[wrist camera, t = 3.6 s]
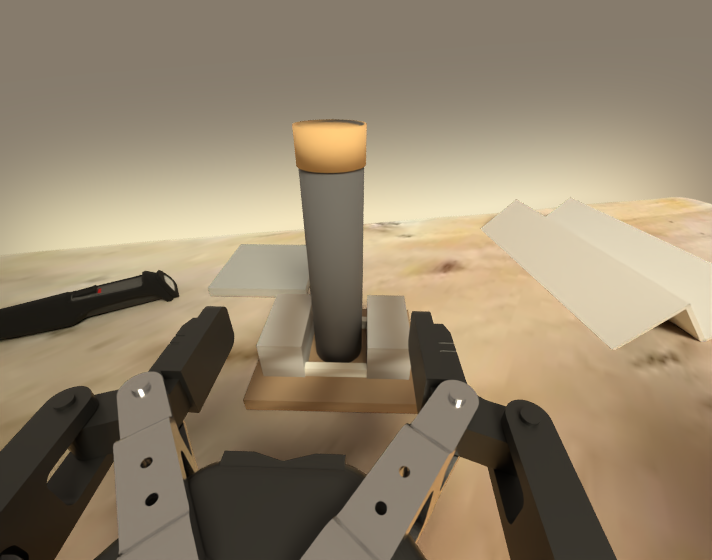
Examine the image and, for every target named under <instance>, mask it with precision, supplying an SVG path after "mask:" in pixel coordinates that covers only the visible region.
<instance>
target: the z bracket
mask: <svg viewBox="0 0 712 560" xmlns="http://www.w3.org/2000/svg"><path fill="white" fill-rule="evenodd" d="M481 230H482V231H483V232H484V233H485V234H486V235H487V236H489V237H490V238H491V239H492V240H493V241H494V242H495V243H496V244H497V245H498V246H499V247H501V248H502V249H503V250H504V251H505V252H506V253H507V254H508V255H509V256H510V257H511V258H513V259H514V260H515V261H516V262H517V263H518V264H519V265H520V266H521V267H522V268H523V269H525V270H526V271H527V272H528V273H529V274H530V275H531V276H532V277H533V278H534V279H535V280H537V281H538V282H539V283H540V284H541V285H542V286H543V287H544V288H545V289H546V290H548V291H549V292H550V293H551V294H552V295H553V296H554V297H555V298H556V299H557V300H558V301H560V302H561V303H562V304H563V305H564V306H565V307H566V308H567V309H568V310H569V311H570V312H572V313H573V314H574V315H575V316H576V317H577V318H578V319H579V320H580V321H581V322H582V323H584V324H585V325H586V326H587V327H588V328H589V329H590V330H591V331H592V332H593V333H594V334H596V335H597V336H598V337H599V338H600V339H601V340H602V341H603V342H604V343H605V344H606V345H608V346H609V347H610V348H611V349H618V348H620V347H622V346H623V345H625V344H627V343H628V342H630V341H632V340H634V339H635V338H637V337H639V336H640V335H642V334H644V333H646V332H647V331H649V330H651V329H653V328H654V327H656V326H658V325H659V324H661V323H663V322H665V321H666V320H670V321H671V322H672V323H674V324H675V325H677V326H678V327H680V328H681V329H683V330H684V331H686V332H687V333H689V334H690V335H691V336H693V337H694V338H696V339H697V340H699V341H700V342H706V341H708V340H710V339H712V263H710V262H708V261H706V260H704V259H701V258H699V257H697V256H695V255H693V254H691V253H689V252H686V251H684V250H682V249H680V248H678V247H676V246H674V245H671V244H669V243H667V242H665V241H663V240H661V239H659V238H656V237H654V236H652V235H650V234H648V233H646V232H644V231H641V230H639V229H637V228H635V227H633V226H631V225H629V224H626V223H624V222H622V221H620V220H618V219H616V218H614V217H611V216H609V215H607V214H605V213H603V212H601V211H599V210H596V209H594V208H592V207H590V206H588V205H586V204H584V203H581V202H579V201H577V200H575V199H573V198H571V197H570V198H569V199H567V200H566V201H565V202H564V203H562V204H561V205H560V206H558V207H557V208H556V209H555V210H553V211H552V212H551V213H549V214H548V215H547V216H546V217H545V216H544V215H542V214H540V213H539V212H537V211H535V210H534V209H532V208H530V207H529V206H527V205H525V204H524V203H522V202H520V201H519V200H517V199H516V200H515V201H513V202H512V203H511V204H510V205H509V206H507V208H505V209H504V210H503V211H502V212H500V213H499V214H498V215H497V216H495V217H494V218H493V219H492V220H491V221H489V222H488V223H487V224H486V225H484V226H483V227H482V228H481Z"/></svg>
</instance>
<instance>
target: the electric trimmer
mask: <svg viewBox="0 0 712 560" xmlns="http://www.w3.org/2000/svg"><path fill="white" fill-rule="evenodd" d="M170 294H171V295H170ZM178 296H179V293H178V288H177V284H176V283H175V281H174V280H173V279H172V278H171V277H170V276H168V275H167V274H166V273H164V272H163V271H160V270H158V271H157V272H156V273H154V272H149V271H144V272H142V275H139V276H136V277H132V278H127V279H123V280H119V281H115V282H111V283H107V284H102V285H98V286H96V285H94V286H92V287H89V288H85V289H81V290H78V291H73V292H66V293H62V294H58V295H54V296H51V297H47V298H43V299H39V300H35V301H31V302H27V303H23V304H19V305H15V306H11V307H7V308H3V309H0V340H2V339H7V338H12V337H18V336H23V335H28V334H34V333H39V332H44V331H49V330H54V329H59V328H64V327H69V326H73V325H75V324H76V323H78V322H79V321H81V320H82V319H84V318H86V317H90V316H94V315H97V314H101V313H105V312H109V311H113V310H117V309H121V308H125V307H129V306H133V305H137V304H141V303H145V302H149V301H153V300H157V299H164V300H166V301H172V300H173V297H178Z"/></svg>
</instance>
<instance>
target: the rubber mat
mask: <svg viewBox="0 0 712 560" xmlns="http://www.w3.org/2000/svg"><path fill="white" fill-rule="evenodd" d="M309 286H310V281H309V270H308V260H307V250H306V245H257V244H241V245H240V246H239V247H238V249H237V250H236V251H235V253H234V254H233V255H232V257H231V258H230V259H229V261H228V262H227V263H226V265H225V266H224V267H223V269H222V270H221V271H220V272H219V274H218V275H217V276H216V278H215V279H214V280H213V282H212V283H211V284H210V286H209V287H208V290H209V294H210V296H243V297H277V295H278V294H307V293H308V289H309Z"/></svg>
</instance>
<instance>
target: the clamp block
mask: <svg viewBox="0 0 712 560" xmlns="http://www.w3.org/2000/svg"><path fill="white" fill-rule="evenodd" d="M409 330H410V319H409V313H408V310H406V304H405V299H404V296H385V295H367V309H362V349H361V353H360V355H359V356H358V357H357V358H356V359H355V360H354V361H352V362H350V363H333V362H324V361H323V360H321V359H320V358H319V356H318V355H317V352H316V342H315V332H314V322H313V311H312V301H311V294H278V295H277V297H276V299H275V302H274V304H273V307H272V309H271V312H270V314H269V316H268V319H267V321H266V324H265V326H264V328H263V331H262V333H261V336H260V338H259V341H258V343H257V345H256V346H257V351H258V355H259V360H258V363H257V366H256V368H255V371H254V373H253V376H252V379H251V381H250V384H249V386H248V389H247V392H246V394H245V397H244V399H243V401H244V404H245V407H246V409H255V410H294V411H333V412H372V413H410V414H418V412H417V406H416V399H415V392H414V385H413V379H412V372H411V365H410V358H409V351H408V338H409Z"/></svg>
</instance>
